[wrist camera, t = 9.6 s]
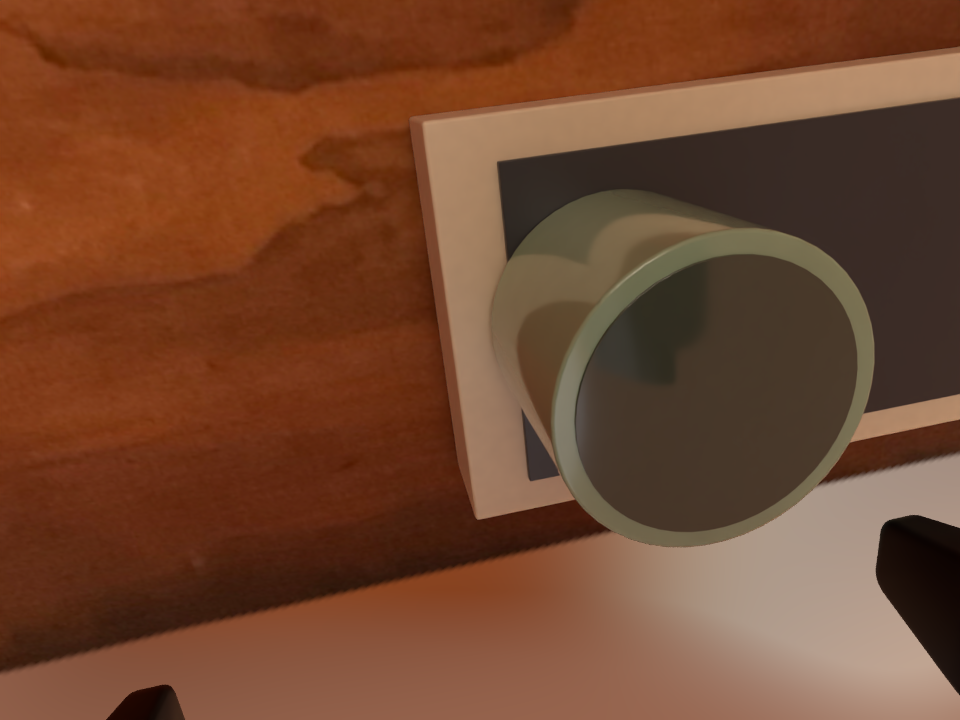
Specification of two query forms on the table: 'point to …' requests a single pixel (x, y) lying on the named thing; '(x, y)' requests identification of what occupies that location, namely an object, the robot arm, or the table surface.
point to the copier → (716, 186)
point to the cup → (681, 363)
